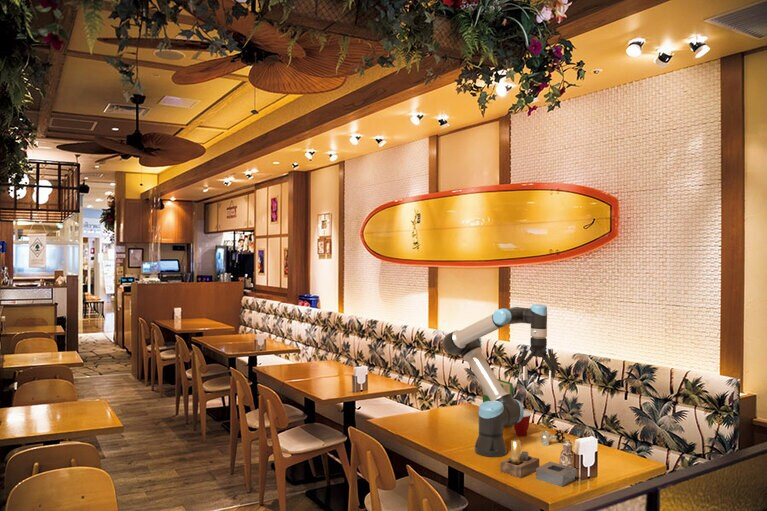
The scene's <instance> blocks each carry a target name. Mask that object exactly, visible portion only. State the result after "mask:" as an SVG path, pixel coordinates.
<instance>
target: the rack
mask: <svg viewBox="0 0 767 511" xmlns="http://www.w3.org/2000/svg"><path fill="white" fill-rule="evenodd" d="M538 467H540V458H539V457H538V458H537V457H534V456H530V455H529V452H528V451H525V450H523V451H520V465H518V466H517V465H514V464H511V456H510V457H508V458H506V459H504V460H501V461H500V470H499V472H500V471H501V472H500V473H502V472H504V473H503V474H505V473H507V474H506V475H508V474H510V475H509V476H512V475H513V476H512V477H515V476H516V477H515V478H518V477H519V478H518V479H522V478H524V477H526V476H528V475H529V474H532V473H534V472H536V468H538ZM521 477H522V478H521Z"/></svg>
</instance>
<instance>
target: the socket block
mask: <svg viewBox="0 0 767 511" xmlns="http://www.w3.org/2000/svg"><path fill="white" fill-rule="evenodd" d="M575 476H577V467H576V468H572V467H568V466H565V465H561V464H559V463H557V462H553V461H548V462H546V463H544V464H542V465H539V467H538V468H536V471H535V479H536V480H538V481H542V482H545V483H549V484H551V485H554V486H555V485H556V486H559V487H565V486H567V485H568V484H570V483H571V482H573V481H575V480H576V479H575Z"/></svg>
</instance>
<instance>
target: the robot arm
mask: <svg viewBox="0 0 767 511" xmlns="http://www.w3.org/2000/svg"><path fill="white" fill-rule="evenodd" d="M517 324H528V325H530V340H529V341H530V346H529V345H524V347H523V348H524V349H523V351H522V354H521V356H520V358H519V360H518V362H517V364H518V365H519V366H521V373H522V374H523V375H522V381H527V380H528V363H530V361H531V360H532V359H533V358H534V357H535V358H536V357H537V358H541V359H542V360H544V362H545V364H546V365H547V366H548V368H549V369H550V370H548V371H549V372H548V374H549V375H548V385H550V386H551V385H554V378H555V377H556V371H557V370H559V369H560V366H559V363H558V361H557V358H556V357H555V353H554V349H553V348H547V345H548V341H547V340H548V339H547V337H548V325H547V324H548V306H546V305H545V304H531V305H530V307H520V306H512V307H510V308H508V307H507V308H499V309H496V310H495V311H494V312H493V313H492V314H491V315H488V316H486V317H485V318H483V319H480V320H478V321H476V322H474V323H472V324H470V325H467V326H466V327H464V328H463V329H460V330H458V329H457V330H456V329H455V330H454V331H452V332H449V333H447V334H446V335H445V336H444V338H443V341H442V346H443V349H444V351H445V352H446V353H448V354H449V355H452V356H453V355H454V356H457V355H459V356H460V357H461V359H462V360H463V361H464V362H467V363H468V365H469V367H470V368H471V371H472V372H473V373H474V375H475V377H476V379H477V380H478V382H479V384H480V385H481V387H482V389H483V388H484V390H485V392H486V393H487V395H488V397H489V399H490V400H491V401H486V402H483V401H482V402H481V403H480V404H479V407H478V436H477V439H476V441H475V445H474V452H475V453H476V454H478V455H480V456H482V457H483V456H484V457H489V458H491V457H492V458H498V457H502V456H506V455H507V453H508V452H507V451H508V450H507V449H508V448H507V446H506V442H505V438H504V428H506V427H509V426H510V425H512V426H514V424H516V423H518V422H520V421H521V420H522V418H523V413H524V406H523V404H522V403H521V401H520V400H518V399H516V398H513V395H512V396H511V395H510V393H506V392H505V391H504V389H503V387H502V386H501V384H500V383H499V381H498V379H499V378H497V376H496V374H495V373H494V371H493V369H492V368H491V366H490V365H489V362H487V360H486V357H484V354H483V353H482V351H483V348H482V339H481V338H482V337H485V336H487V335H489V334H491V333H493V332H495V331H497V330H499V329H501V328H503V327H505V326H508V325H517ZM529 351H530V353H529ZM528 354H529V355H528Z"/></svg>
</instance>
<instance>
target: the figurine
mask: <svg viewBox="0 0 767 511" xmlns="http://www.w3.org/2000/svg"><path fill="white" fill-rule="evenodd" d="M562 446H563V447H562V448H563V449H562V450H561V451H560V455H559V463H558V464H561V465H565V466H568V467H572V468H573V453H575V452H574V451H573V443H572V442H571V439H566V440H564V442H563V444H562Z"/></svg>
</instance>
